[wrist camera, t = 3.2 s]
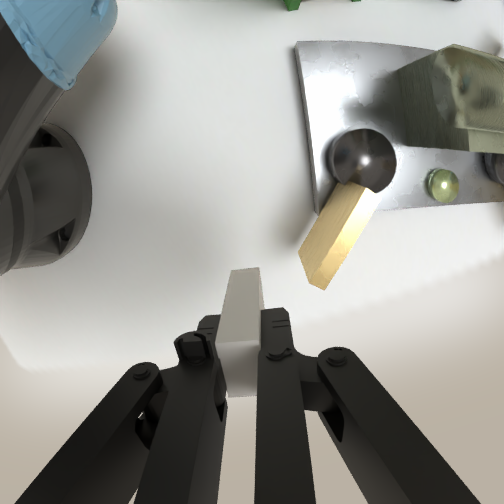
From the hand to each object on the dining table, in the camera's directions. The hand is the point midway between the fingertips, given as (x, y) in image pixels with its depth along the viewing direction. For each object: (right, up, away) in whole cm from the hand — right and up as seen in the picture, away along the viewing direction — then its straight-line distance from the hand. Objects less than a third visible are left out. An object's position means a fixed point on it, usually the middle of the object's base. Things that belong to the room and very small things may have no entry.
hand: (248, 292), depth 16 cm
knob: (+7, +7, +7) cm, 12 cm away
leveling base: (+17, +14, +7) cm, 23 cm away
